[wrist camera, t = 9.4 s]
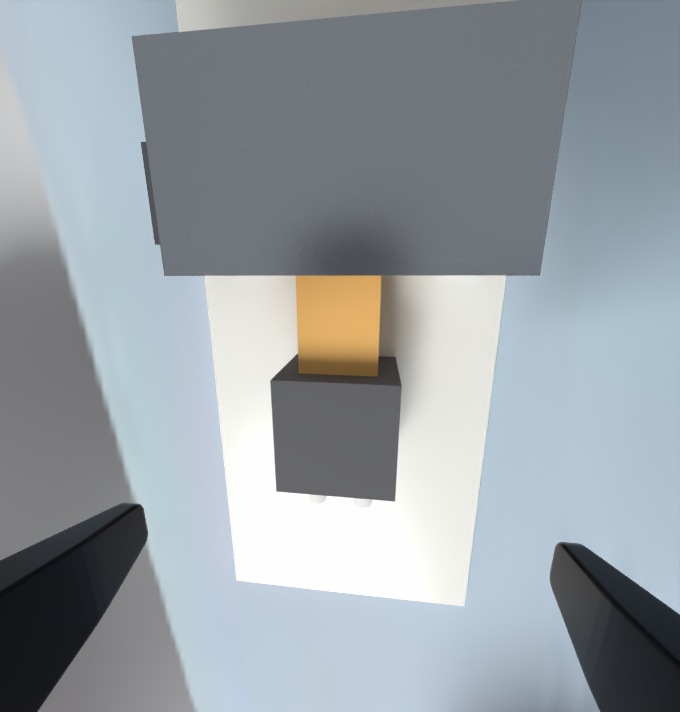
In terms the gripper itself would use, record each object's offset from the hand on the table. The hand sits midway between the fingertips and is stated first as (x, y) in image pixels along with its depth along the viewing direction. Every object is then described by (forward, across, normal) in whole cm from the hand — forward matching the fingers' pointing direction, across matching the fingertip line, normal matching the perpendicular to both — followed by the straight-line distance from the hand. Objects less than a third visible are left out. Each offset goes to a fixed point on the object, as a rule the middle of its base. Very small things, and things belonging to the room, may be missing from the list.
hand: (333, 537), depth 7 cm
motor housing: (+7, 0, -8) cm, 10 cm away
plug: (+7, 0, -4) cm, 8 cm away
